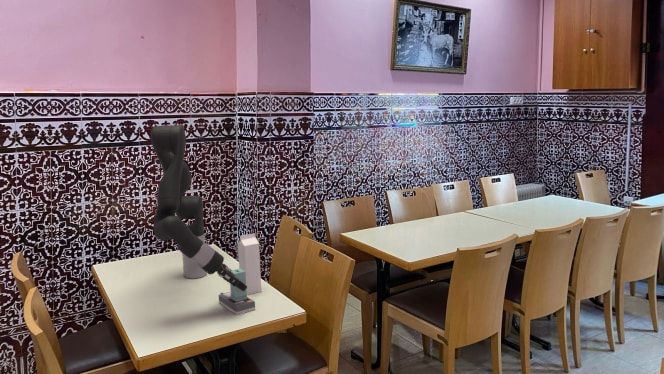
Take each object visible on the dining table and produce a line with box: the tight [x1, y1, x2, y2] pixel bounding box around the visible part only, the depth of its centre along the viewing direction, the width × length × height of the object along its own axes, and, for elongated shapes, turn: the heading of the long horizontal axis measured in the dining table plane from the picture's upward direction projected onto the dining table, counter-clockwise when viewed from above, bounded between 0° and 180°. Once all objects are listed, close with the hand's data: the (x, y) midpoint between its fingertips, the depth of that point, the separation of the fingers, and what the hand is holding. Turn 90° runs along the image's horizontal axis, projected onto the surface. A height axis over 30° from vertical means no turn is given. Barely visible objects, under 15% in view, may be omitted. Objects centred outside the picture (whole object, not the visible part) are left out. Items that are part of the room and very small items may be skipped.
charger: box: [229, 268, 248, 302], centre depth 192 cm, size 4×4×10 cm
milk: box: [237, 232, 262, 296], centre depth 208 cm, size 6×6×22 cm
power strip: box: [218, 291, 256, 315], centre depth 197 cm, size 19×7×3 cm, turn 37°
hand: (243, 286), depth 193 cm, fingers closed on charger, 4 cm apart
